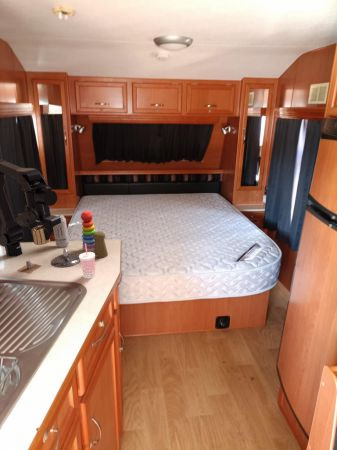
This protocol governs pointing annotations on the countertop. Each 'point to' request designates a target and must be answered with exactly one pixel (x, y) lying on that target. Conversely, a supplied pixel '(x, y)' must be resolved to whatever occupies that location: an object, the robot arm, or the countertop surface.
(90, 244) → the stacking toy
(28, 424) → the countertop surface
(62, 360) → the countertop surface
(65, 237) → the energy drink can
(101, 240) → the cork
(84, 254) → the beverage cup
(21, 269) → the stand
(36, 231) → the tan hollow faceted cylinder
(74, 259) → the disc
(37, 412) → the countertop surface
